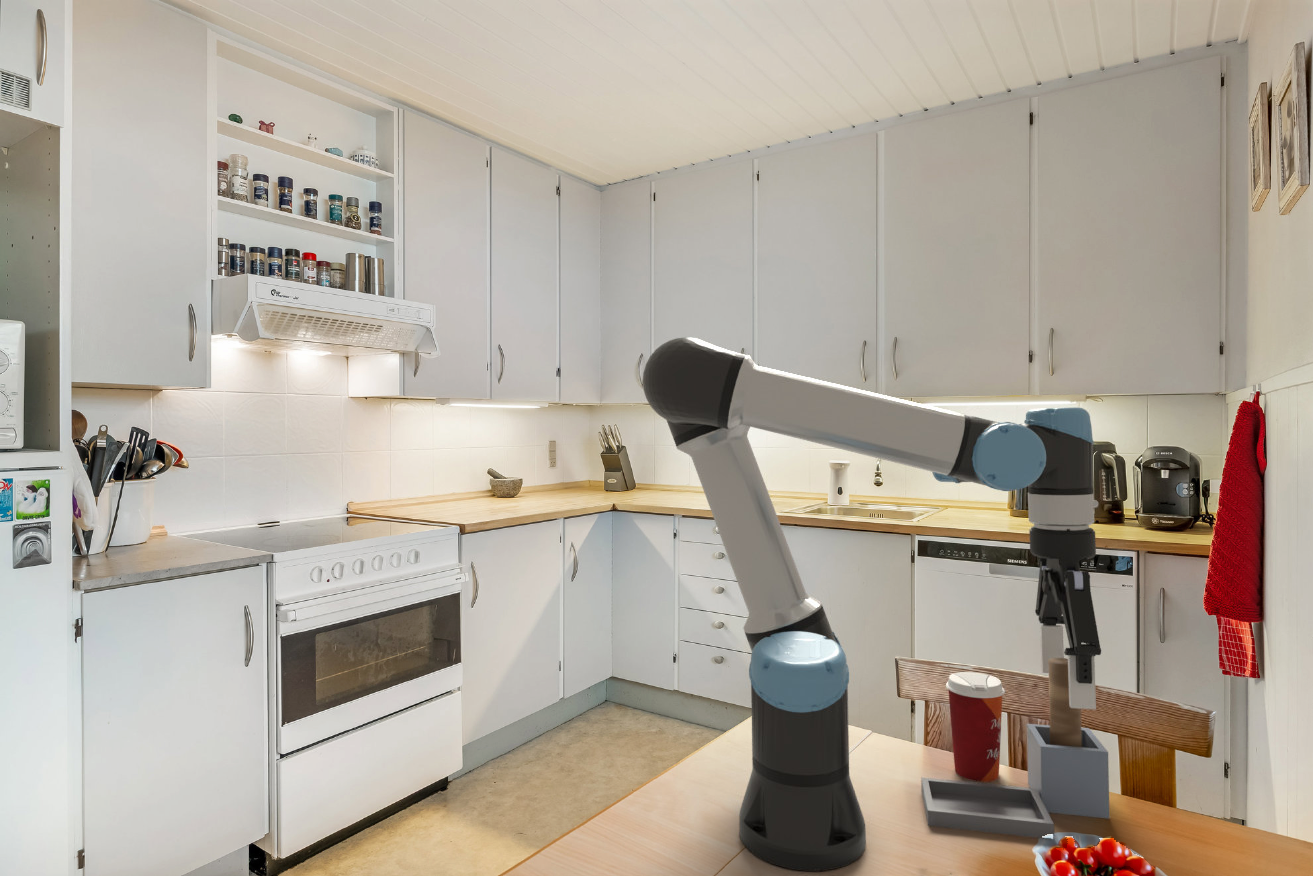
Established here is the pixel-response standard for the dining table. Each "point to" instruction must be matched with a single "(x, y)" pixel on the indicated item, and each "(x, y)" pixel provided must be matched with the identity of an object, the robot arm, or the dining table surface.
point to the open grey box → (1069, 773)
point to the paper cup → (976, 724)
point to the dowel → (1062, 707)
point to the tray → (985, 808)
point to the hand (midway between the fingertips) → (1066, 689)
